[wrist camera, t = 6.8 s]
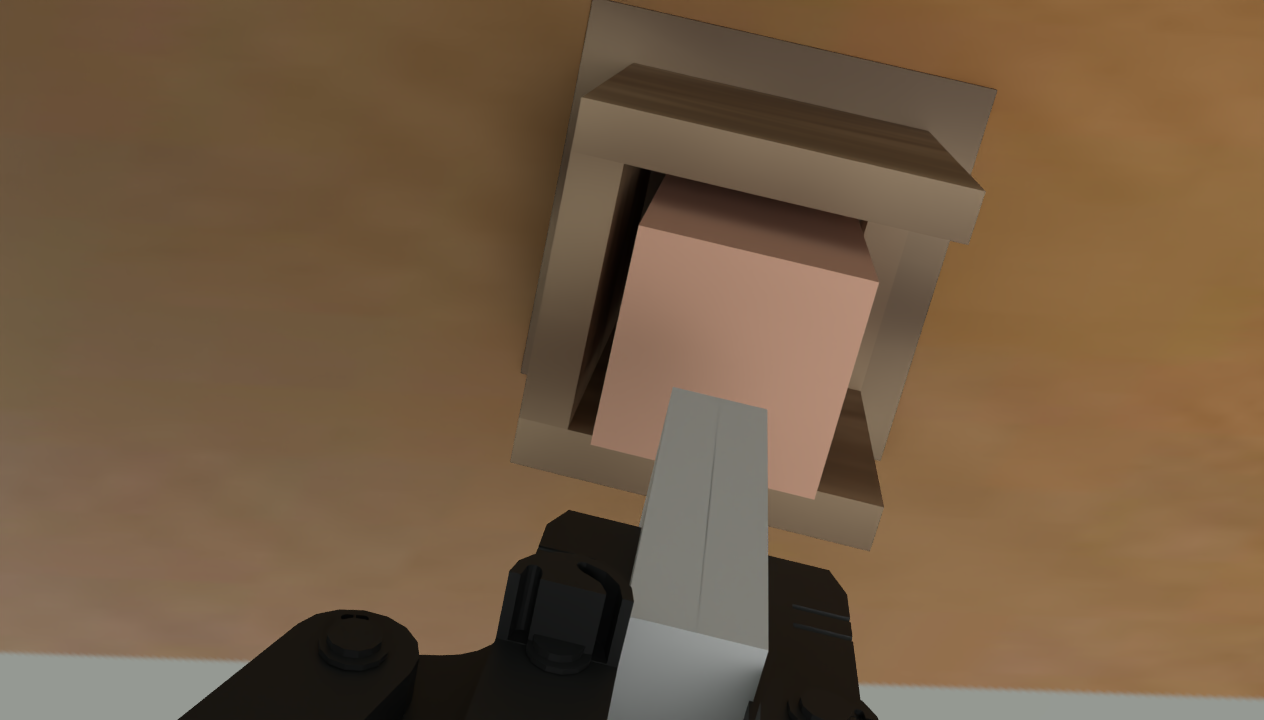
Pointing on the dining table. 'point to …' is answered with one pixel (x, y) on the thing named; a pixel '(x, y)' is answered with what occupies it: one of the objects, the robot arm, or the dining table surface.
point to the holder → (761, 165)
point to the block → (739, 321)
